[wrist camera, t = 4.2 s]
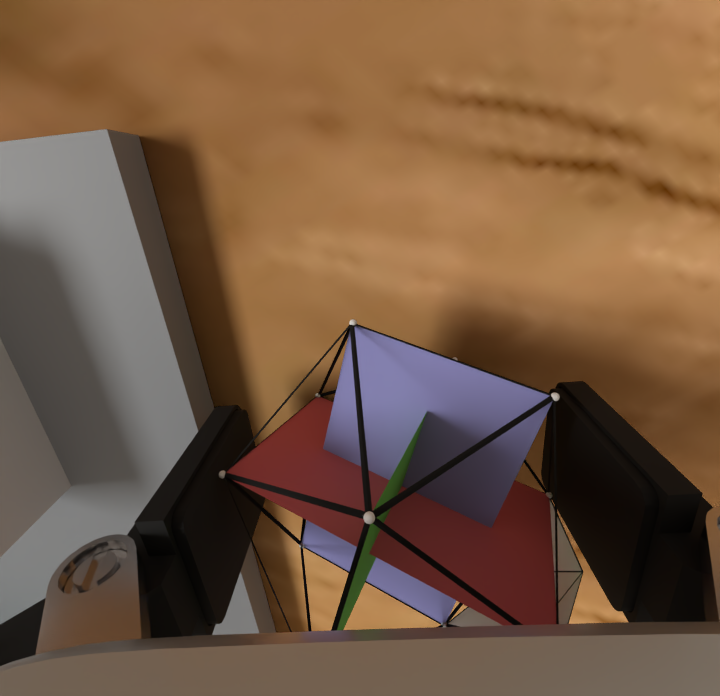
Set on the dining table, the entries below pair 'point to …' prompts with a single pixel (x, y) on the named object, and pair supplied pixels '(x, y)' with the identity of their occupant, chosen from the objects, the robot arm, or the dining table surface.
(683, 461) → the dining table surface
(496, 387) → the geometric puzzle
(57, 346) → the seat board
